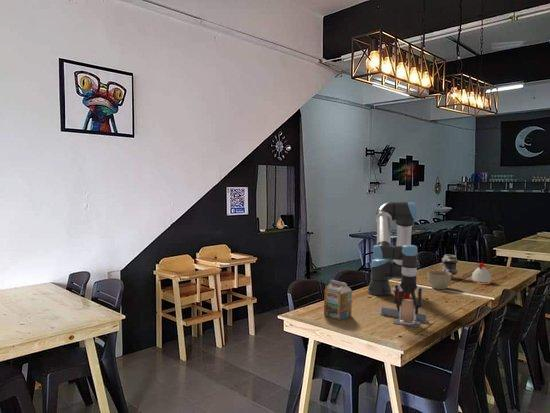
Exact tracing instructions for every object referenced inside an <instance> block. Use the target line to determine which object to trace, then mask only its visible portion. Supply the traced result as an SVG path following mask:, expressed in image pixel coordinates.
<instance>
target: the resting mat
mask: <svg viewBox="0 0 550 413" xmlns="http://www.w3.org/2000/svg"><path fill="white" fill-rule="evenodd" d="M422 323H423V322H422V321H417V320H415V321H412V322H407V321H403V320H401V318H399V317H397V319H395V320H394V321H393V322H392V324H395V325H399V326H400V325H401V326H405V327H410V328H416V329H417V328H418V327H419V326H420V325H421V324H422Z"/></svg>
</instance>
